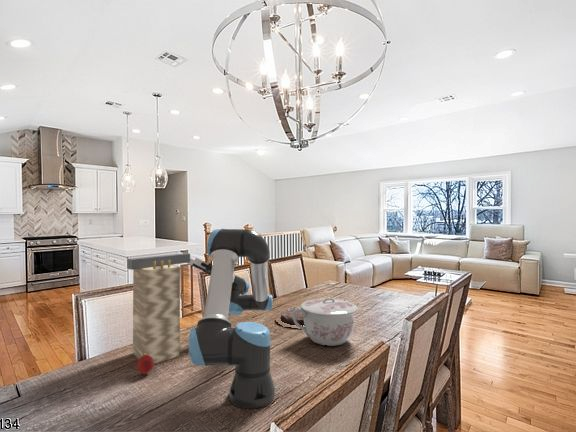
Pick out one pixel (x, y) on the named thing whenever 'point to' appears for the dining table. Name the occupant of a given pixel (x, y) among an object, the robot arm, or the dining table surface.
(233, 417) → the dining table surface
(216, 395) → the dining table surface
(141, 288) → the shelf stand
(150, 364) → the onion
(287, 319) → the chocolate cake
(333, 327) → the chamber pot
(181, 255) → the bar
